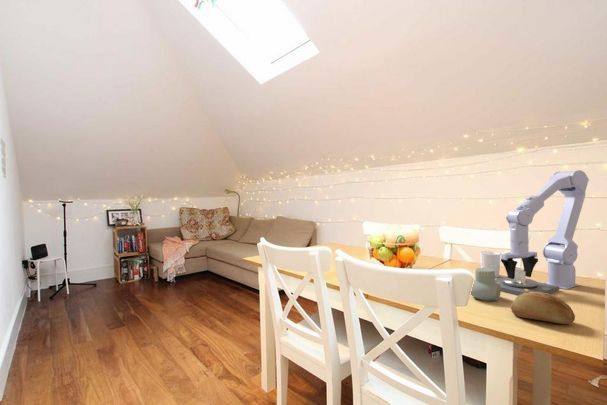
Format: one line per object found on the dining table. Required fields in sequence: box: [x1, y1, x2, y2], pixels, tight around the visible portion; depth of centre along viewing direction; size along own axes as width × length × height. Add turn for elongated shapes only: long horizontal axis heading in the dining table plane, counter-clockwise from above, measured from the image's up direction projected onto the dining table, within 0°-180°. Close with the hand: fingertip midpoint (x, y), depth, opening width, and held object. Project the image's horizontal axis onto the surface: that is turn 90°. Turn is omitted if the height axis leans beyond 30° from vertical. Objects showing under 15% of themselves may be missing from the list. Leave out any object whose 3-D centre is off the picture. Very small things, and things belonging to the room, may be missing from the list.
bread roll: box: [510, 292, 576, 325], centre depth 95 cm, size 10×15×8 cm, turn 53°
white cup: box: [479, 250, 502, 278], centre depth 144 cm, size 8×8×10 cm
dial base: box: [495, 275, 560, 296], centre depth 125 cm, size 18×18×2 cm
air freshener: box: [470, 267, 502, 302], centre depth 115 cm, size 11×8×10 cm
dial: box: [502, 266, 538, 288], centre depth 125 cm, size 11×11×6 cm
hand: (519, 277), depth 125 cm, fingers open, 7 cm apart
